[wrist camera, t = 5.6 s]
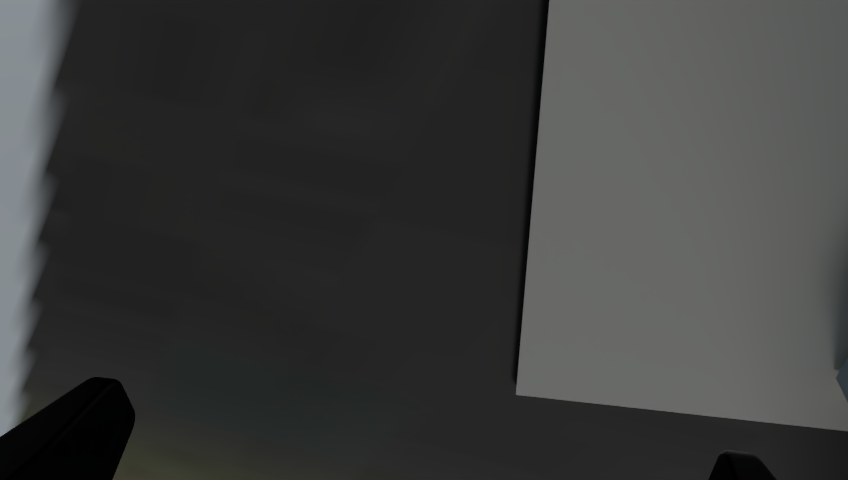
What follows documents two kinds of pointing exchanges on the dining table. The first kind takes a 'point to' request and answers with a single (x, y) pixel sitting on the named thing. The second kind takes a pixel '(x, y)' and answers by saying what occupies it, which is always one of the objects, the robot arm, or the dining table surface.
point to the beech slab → (843, 378)
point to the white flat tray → (691, 210)
